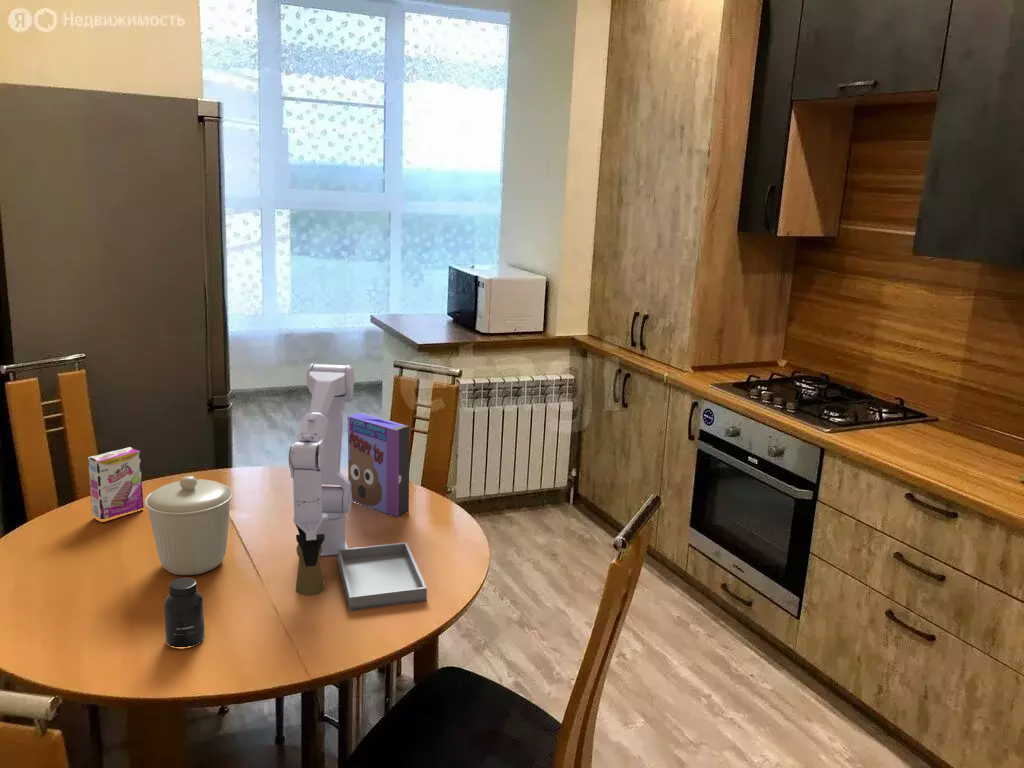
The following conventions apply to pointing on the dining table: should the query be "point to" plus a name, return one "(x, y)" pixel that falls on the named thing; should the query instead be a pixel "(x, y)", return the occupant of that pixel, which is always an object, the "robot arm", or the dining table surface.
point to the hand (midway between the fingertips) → (309, 557)
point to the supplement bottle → (184, 613)
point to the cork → (309, 576)
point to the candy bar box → (115, 482)
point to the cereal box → (379, 463)
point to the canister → (190, 524)
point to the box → (380, 576)
